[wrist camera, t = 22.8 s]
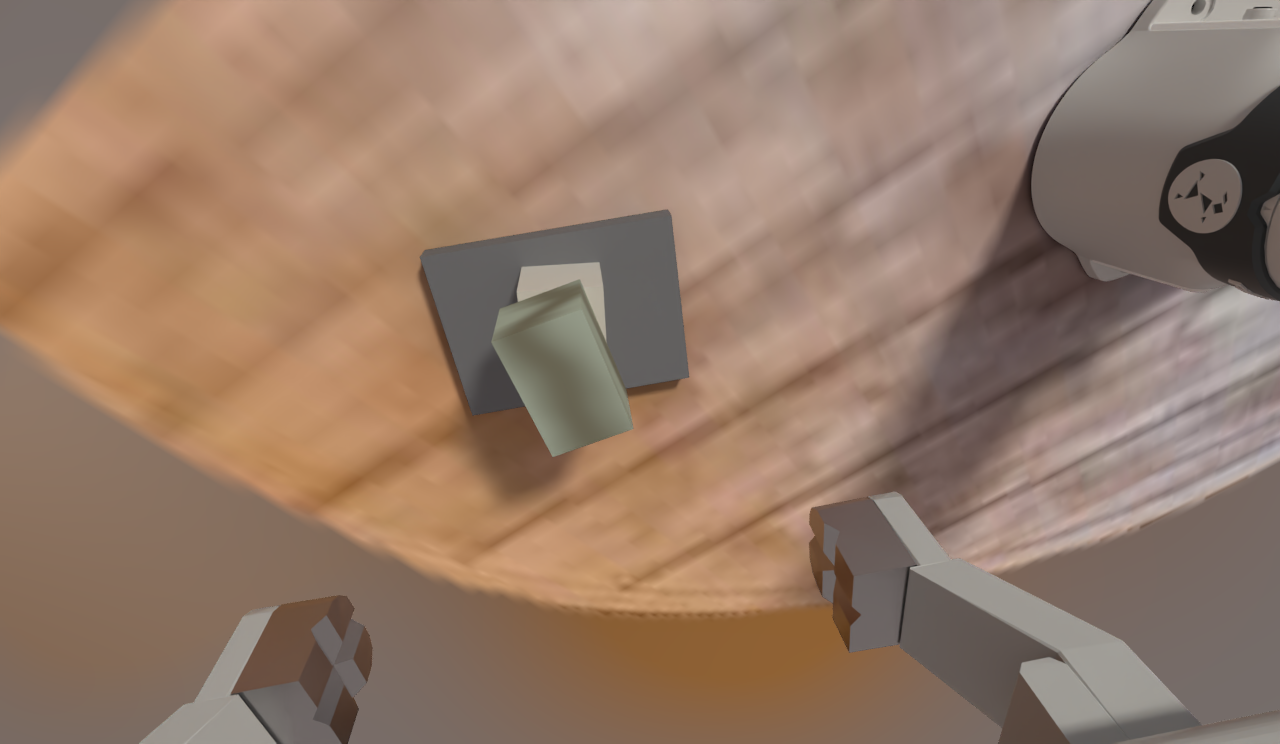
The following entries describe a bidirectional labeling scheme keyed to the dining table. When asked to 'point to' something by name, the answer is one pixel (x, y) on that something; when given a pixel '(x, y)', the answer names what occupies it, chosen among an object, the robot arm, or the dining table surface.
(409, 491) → the dining table surface
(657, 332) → the base plate
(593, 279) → the cream brick
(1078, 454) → the dining table surface
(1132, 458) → the dining table surface
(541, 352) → the sage brick
